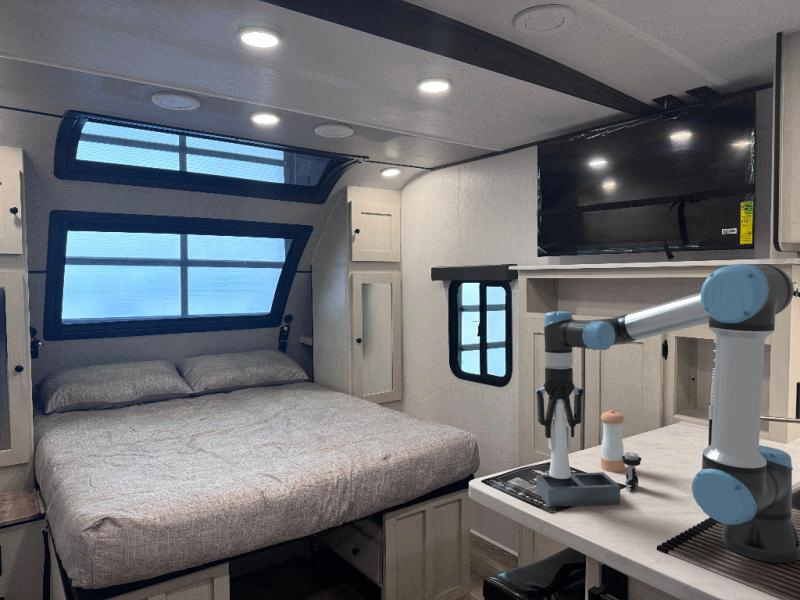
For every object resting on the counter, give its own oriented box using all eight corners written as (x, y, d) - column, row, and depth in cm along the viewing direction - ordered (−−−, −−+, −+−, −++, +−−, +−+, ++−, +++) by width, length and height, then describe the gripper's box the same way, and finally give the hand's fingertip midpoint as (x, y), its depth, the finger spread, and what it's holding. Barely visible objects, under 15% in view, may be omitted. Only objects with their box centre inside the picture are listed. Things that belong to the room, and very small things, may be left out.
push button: (637, 494, 155) (637, 459, 155) (618, 490, 159) (617, 456, 158) (643, 487, 161) (643, 453, 160) (625, 483, 164) (624, 450, 164)
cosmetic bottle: (567, 471, 156) (566, 395, 156) (574, 479, 150) (573, 400, 150) (546, 471, 157) (545, 396, 156) (552, 479, 150) (551, 400, 150)
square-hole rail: (603, 488, 160) (603, 472, 160) (620, 504, 149) (620, 486, 149) (536, 491, 159) (536, 474, 159) (548, 507, 148) (548, 489, 148)
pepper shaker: (621, 473, 172) (620, 413, 171) (597, 469, 176) (597, 410, 175) (627, 467, 177) (626, 409, 177) (604, 462, 182) (604, 406, 181)
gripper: (583, 363, 156) (584, 443, 157) (524, 365, 156) (526, 445, 157) (594, 367, 149) (595, 451, 150) (532, 369, 148) (533, 454, 149)
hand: (559, 448), depth 153 cm, fingers closed on cosmetic bottle, 4 cm apart
